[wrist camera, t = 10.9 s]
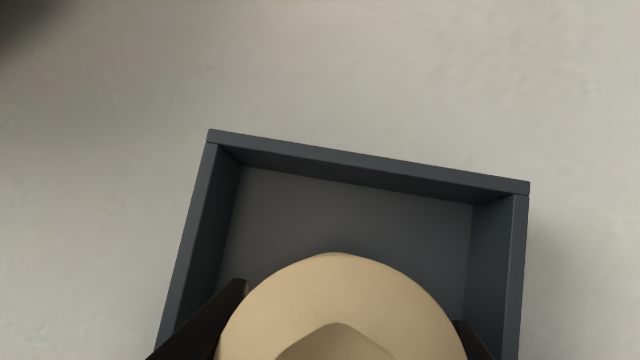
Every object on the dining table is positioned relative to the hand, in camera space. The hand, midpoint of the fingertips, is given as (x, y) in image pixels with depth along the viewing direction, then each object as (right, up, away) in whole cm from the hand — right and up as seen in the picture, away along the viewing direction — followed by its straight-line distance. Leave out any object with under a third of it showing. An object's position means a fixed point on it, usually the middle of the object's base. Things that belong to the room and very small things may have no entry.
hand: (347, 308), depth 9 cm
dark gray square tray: (0, -3, +8) cm, 8 cm away
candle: (0, -3, +6) cm, 7 cm away
